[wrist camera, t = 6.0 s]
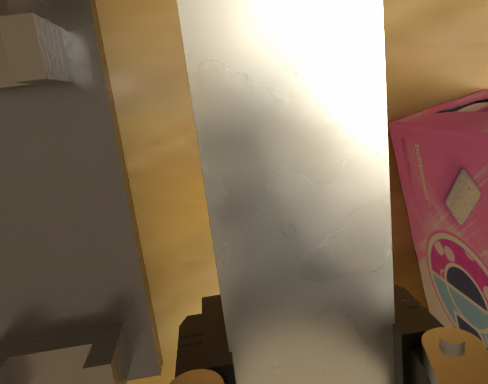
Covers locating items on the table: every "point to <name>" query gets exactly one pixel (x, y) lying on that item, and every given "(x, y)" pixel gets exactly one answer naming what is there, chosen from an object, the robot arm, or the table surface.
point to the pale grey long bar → (296, 184)
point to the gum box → (449, 206)
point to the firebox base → (66, 208)
